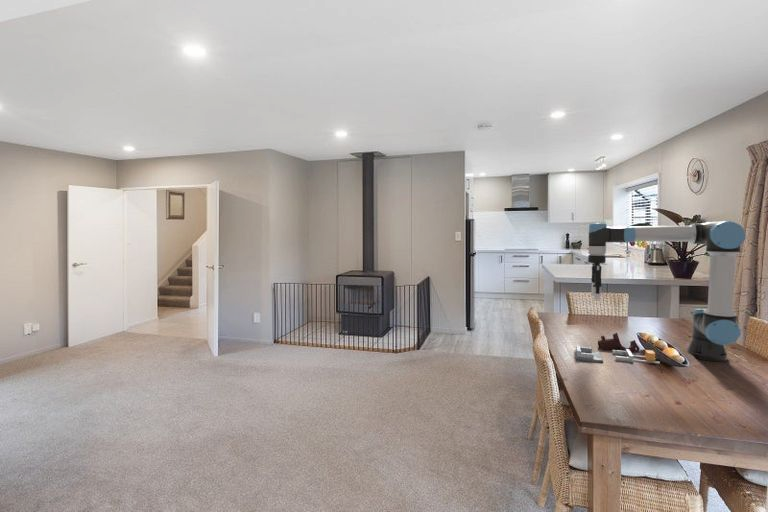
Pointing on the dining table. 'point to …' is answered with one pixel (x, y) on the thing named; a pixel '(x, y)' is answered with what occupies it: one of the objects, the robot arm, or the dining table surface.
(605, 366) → the dining table surface
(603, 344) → the dark brown irregular piece
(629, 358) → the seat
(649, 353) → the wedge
